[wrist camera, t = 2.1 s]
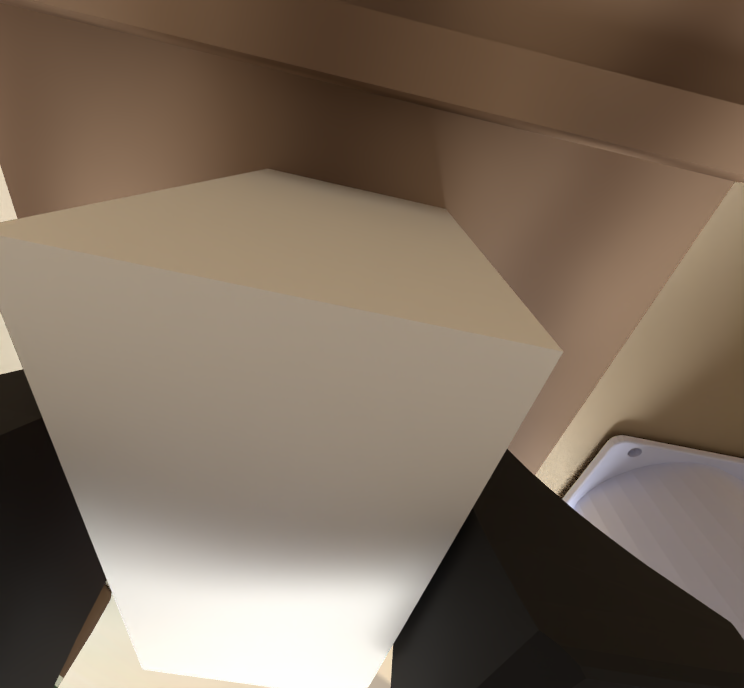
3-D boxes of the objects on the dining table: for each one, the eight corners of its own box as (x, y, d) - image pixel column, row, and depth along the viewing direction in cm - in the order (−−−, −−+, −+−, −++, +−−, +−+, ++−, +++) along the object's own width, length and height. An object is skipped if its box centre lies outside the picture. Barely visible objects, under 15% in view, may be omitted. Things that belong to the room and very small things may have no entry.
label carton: (251, 164, 8) (-91, 218, 2) (445, 208, 9) (563, 351, 3) (247, 424, 13) (123, 666, 7) (375, 448, 13) (360, 699, 7)
